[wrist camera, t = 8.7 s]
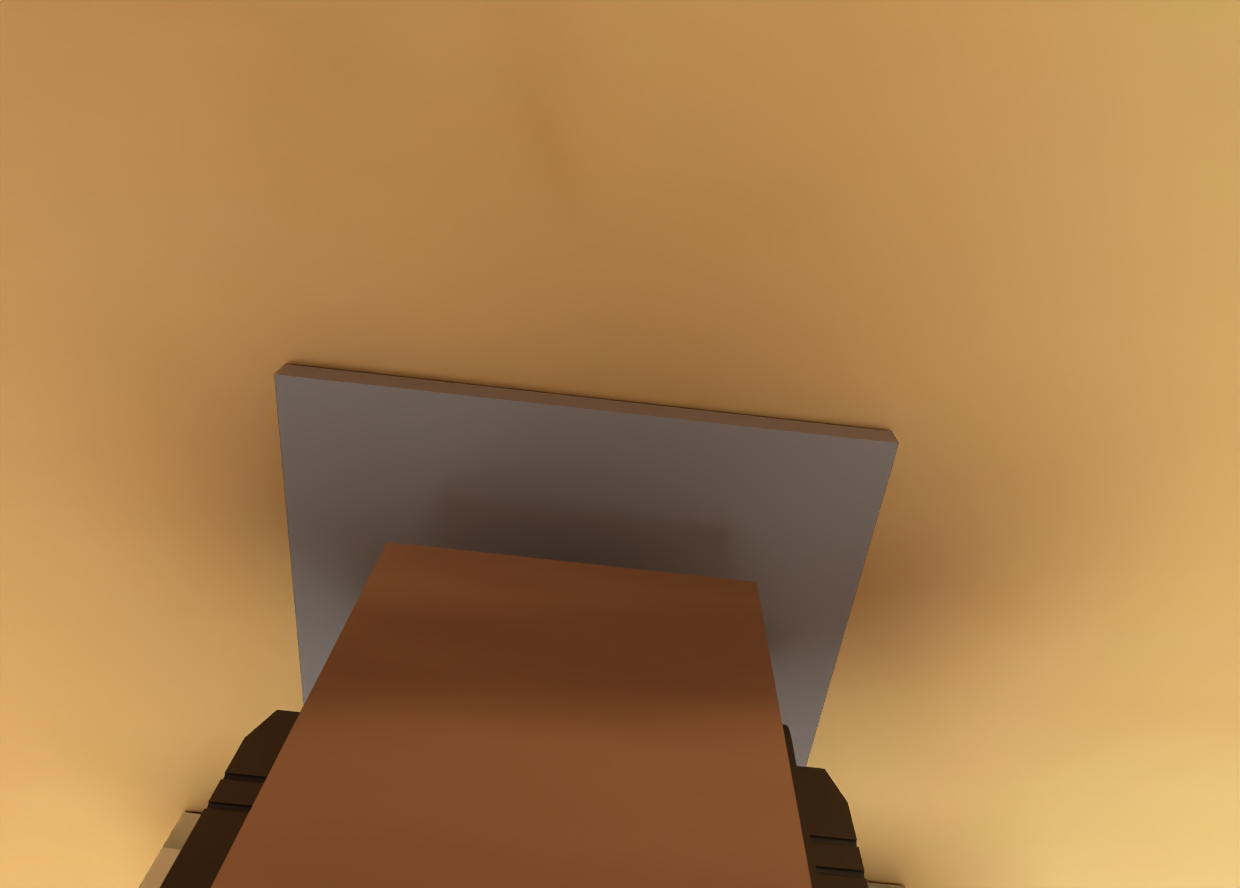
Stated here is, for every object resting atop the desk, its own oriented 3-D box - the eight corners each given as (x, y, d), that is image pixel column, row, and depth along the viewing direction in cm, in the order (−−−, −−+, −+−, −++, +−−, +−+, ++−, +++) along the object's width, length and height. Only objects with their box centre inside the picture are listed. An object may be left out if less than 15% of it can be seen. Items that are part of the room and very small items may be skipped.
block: (386, 541, 11) (145, 1013, 6) (756, 581, 11) (848, 1083, 6) (393, 800, 14) (224, 1310, 8) (701, 832, 14) (731, 1358, 8)
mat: (285, 364, 12) (274, 373, 12) (891, 431, 12) (898, 443, 12) (317, 755, 16) (309, 771, 16) (786, 803, 16) (789, 821, 16)
